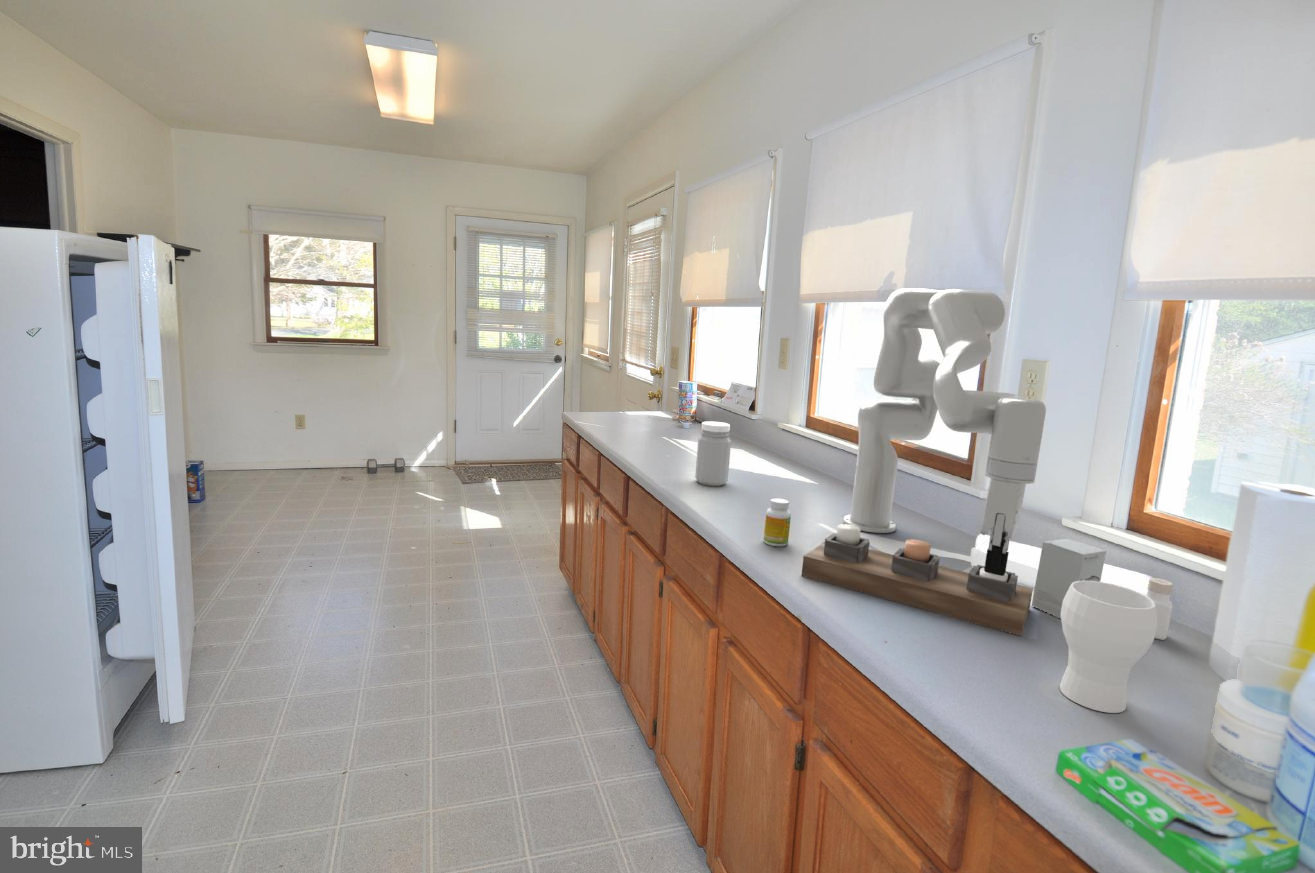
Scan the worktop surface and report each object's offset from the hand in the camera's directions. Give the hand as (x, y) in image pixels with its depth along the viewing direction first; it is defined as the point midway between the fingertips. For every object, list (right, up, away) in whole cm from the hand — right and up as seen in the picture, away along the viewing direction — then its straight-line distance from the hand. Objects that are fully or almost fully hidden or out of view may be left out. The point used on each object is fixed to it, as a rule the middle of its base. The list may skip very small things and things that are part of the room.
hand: (994, 572), depth 117 cm
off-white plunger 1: (-22, +3, +14) cm, 26 cm away
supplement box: (+14, -8, +4) cm, 17 cm away
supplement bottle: (-33, 0, +32) cm, 45 cm away
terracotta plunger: (-11, +1, +7) cm, 13 cm away
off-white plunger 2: (0, -3, +1) cm, 3 cm away
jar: (-43, +10, +84) cm, 95 cm away
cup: (+1, -12, -25) cm, 28 cm away
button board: (-11, -5, +8) cm, 15 cm away
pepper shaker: (+25, -10, -3) cm, 27 cm away
